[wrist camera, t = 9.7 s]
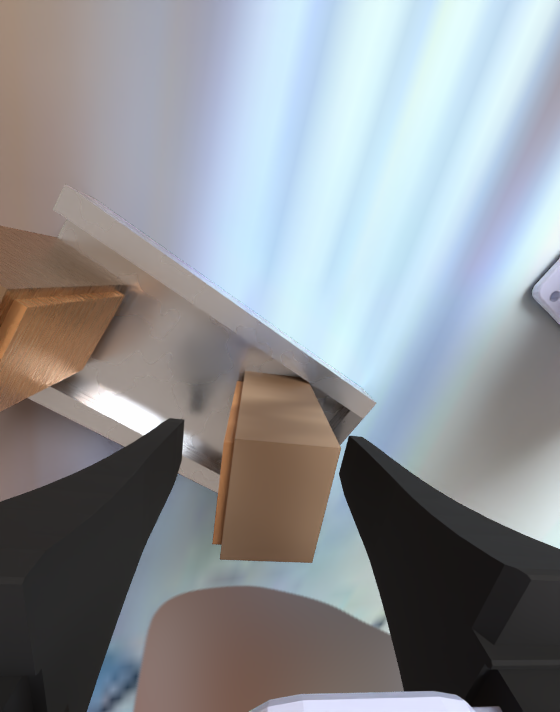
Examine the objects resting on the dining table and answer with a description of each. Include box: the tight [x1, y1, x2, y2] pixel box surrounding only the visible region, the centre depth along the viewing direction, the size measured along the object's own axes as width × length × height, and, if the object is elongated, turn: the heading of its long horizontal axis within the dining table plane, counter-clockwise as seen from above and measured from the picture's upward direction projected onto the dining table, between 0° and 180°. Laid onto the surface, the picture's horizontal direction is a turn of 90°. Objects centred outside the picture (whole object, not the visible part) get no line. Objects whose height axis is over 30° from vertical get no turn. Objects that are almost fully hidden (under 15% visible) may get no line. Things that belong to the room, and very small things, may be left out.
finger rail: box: [0, 184, 376, 493], centre depth 10 cm, size 15×8×6 cm, turn 54°
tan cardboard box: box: [212, 371, 341, 563], centre depth 10 cm, size 3×4×6 cm
